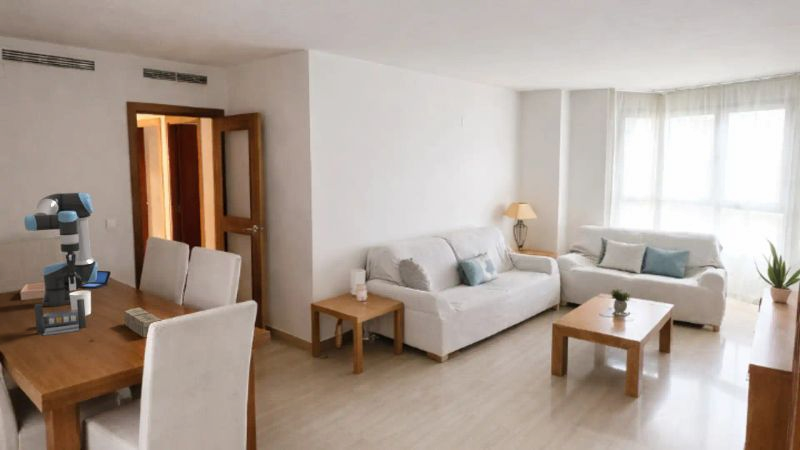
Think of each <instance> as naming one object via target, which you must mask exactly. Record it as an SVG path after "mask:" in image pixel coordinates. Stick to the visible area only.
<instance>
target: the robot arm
mask: <svg viewBox="0 0 800 450" xmlns="http://www.w3.org/2000/svg"><path fill="white" fill-rule="evenodd" d="M92 213H94V207H93V202H92V198H91V196H90V194H89V193H87V192H66V193H65V192H64V193H61V192H60V193H59V192H58V193H53V194H50V195H47V196H45V197H43V198H41V199H40V200H39V201H38V203H37V205H36V211H35V212H34V214H30V215H26V216H24V221H23V222H24V229H25V230H26V231H30V232H31V231H33V232H37V231H48V230H49V231H50V230H59V236H58V240H59V239H60V251H61V253H67V254H65V260H66V261H61V262H55V263H51V264H48V265H46V266H44V267H43V274H42V275H43V281H44V282H43V283H45V294H44V297H43V298H42V300H41V301H42V303H41V304H42V307H50V308H51V307H60V306H65V305H71V302H70V295H69V294H70V293H72V290H74V291H77V290H76V280H75V273H76V274H78V275H79V276H80V277H81V280H82V284H85V283H89V282H95V281H96V279H97V271H98V266H99V262H97V261H95V258H93V257H92V251H91V250H92V249H91V241H90V229H89V218H90V217H91V214H92ZM65 275H68V276H67V278H68V277H69V290H70V291H65V287H64V276H65Z"/></svg>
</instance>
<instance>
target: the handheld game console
mask: <svg viewBox="0 0 800 450" xmlns="http://www.w3.org/2000/svg"><path fill="white" fill-rule="evenodd" d="M110 276H111V270H110V271H109V270H97V279H96V281H95V282H89V283H82V285H81V286H80V287H79V288H78V289H89V290H91V289H92V290H93V289H95V290H96V289H97V290H98V289H101V288H104V287H107V286H108V282H109V280H110Z"/></svg>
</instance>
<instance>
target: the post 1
mask: <svg viewBox="0 0 800 450" xmlns="http://www.w3.org/2000/svg"><path fill="white" fill-rule="evenodd" d="M34 314H35V316H34V318H35V325H36V327H35V328H36V335H43V334H44V332H45V328H44V320H43V315H44V309H43V304H42V303H35V304H34Z"/></svg>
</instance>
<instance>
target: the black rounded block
mask: <svg viewBox="0 0 800 450" xmlns="http://www.w3.org/2000/svg"><path fill="white" fill-rule="evenodd" d="M67 276H68V275H65V276H64V287H65V291H70V290H69V277H68V278H67ZM75 280H76V290H72V291H73V292H75V291H78V289H80V288H79V287H80V286H81V285H82V284H83V283H82V280H81V277H80V276H79V275H78V274H76V273H75ZM72 291H71V292H72Z"/></svg>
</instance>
